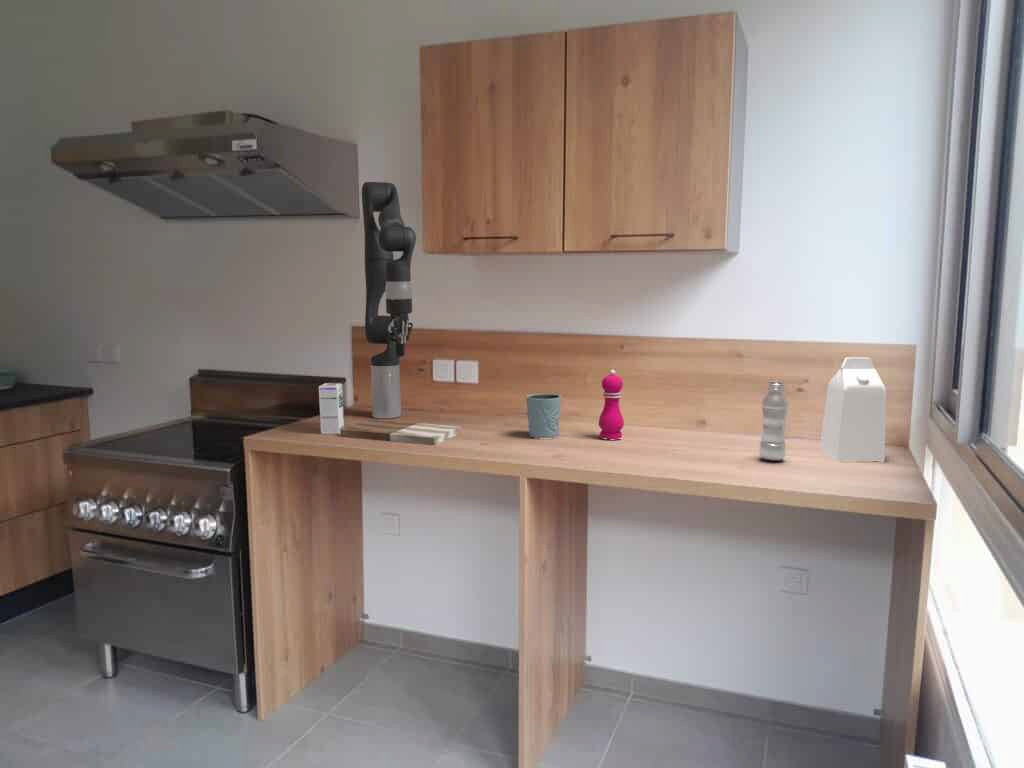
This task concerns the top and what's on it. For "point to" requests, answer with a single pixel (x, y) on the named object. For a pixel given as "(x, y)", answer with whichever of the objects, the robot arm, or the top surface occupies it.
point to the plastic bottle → (774, 423)
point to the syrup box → (331, 408)
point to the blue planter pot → (543, 415)
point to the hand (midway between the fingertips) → (400, 356)
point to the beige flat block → (425, 433)
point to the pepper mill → (611, 407)
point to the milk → (855, 413)
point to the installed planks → (374, 429)
